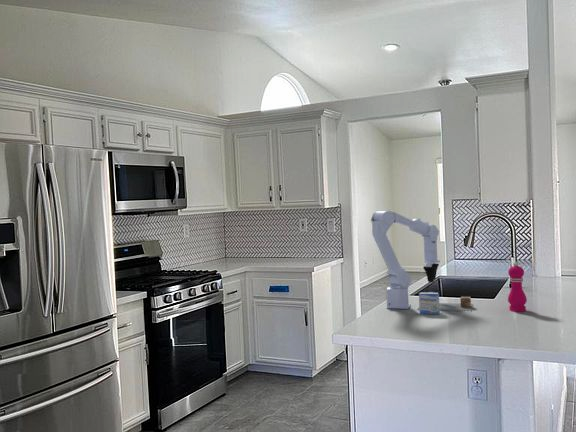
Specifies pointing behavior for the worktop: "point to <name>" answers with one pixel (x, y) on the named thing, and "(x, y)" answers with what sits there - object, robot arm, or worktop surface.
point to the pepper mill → (516, 289)
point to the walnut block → (465, 302)
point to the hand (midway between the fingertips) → (431, 280)
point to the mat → (452, 307)
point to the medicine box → (429, 303)
